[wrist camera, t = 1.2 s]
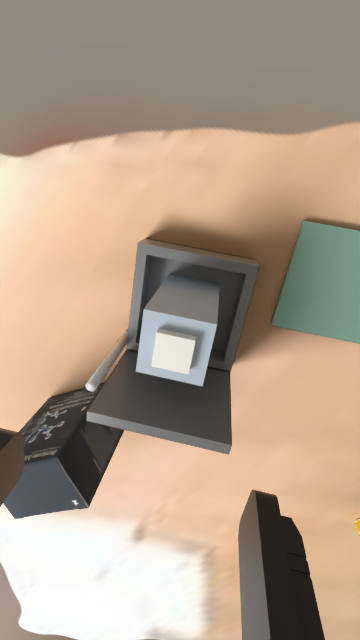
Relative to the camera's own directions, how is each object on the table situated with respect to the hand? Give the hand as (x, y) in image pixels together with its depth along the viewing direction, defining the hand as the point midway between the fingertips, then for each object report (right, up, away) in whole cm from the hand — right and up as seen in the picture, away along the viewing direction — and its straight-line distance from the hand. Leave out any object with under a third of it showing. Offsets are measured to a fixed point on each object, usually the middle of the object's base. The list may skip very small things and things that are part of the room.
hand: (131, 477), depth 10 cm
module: (+3, +7, +17) cm, 19 cm away
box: (-9, -5, +24) cm, 26 cm away
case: (+3, +7, +17) cm, 19 cm away
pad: (+15, +8, +15) cm, 23 cm away
